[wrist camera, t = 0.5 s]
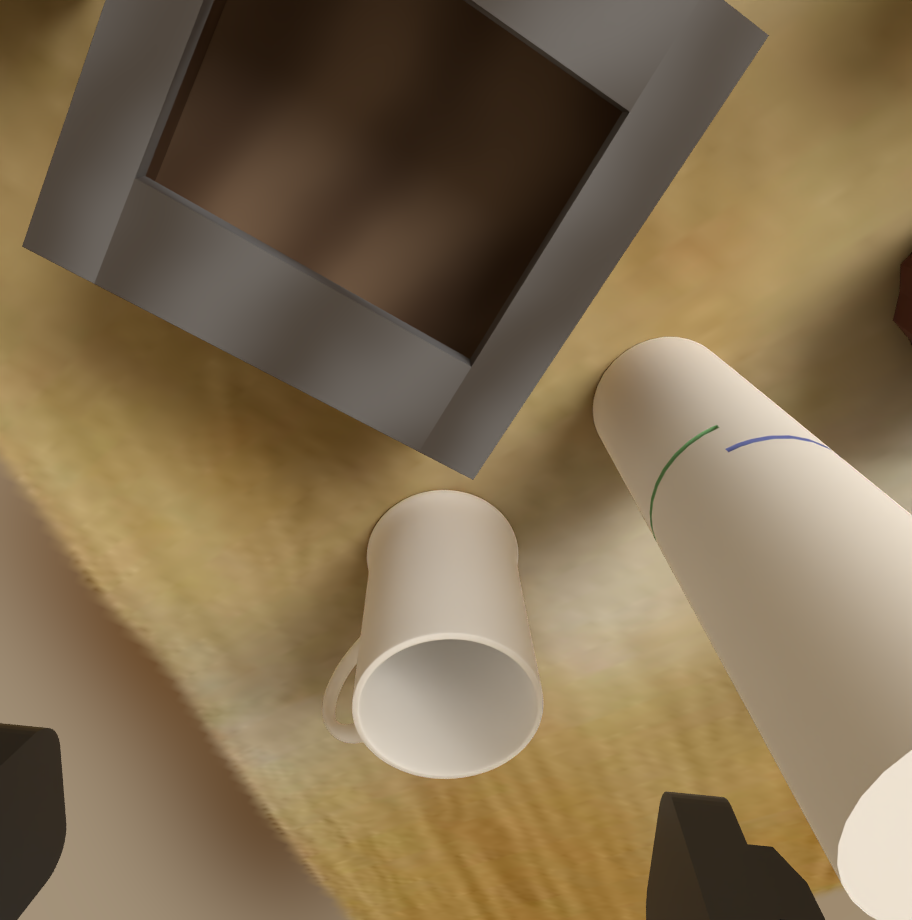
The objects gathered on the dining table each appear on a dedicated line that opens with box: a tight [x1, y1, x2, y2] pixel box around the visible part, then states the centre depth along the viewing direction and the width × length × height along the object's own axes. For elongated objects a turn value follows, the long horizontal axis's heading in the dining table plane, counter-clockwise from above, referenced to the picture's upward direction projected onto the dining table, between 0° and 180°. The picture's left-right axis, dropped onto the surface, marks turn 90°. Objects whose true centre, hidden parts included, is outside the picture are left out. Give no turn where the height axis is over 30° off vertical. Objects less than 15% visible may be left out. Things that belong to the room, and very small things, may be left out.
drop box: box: [22, 0, 769, 480], centre depth 28 cm, size 18×18×9 cm
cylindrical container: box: [593, 337, 912, 920], centre depth 26 cm, size 7×7×25 cm
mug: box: [322, 490, 543, 779], centre depth 36 cm, size 12×8×12 cm
